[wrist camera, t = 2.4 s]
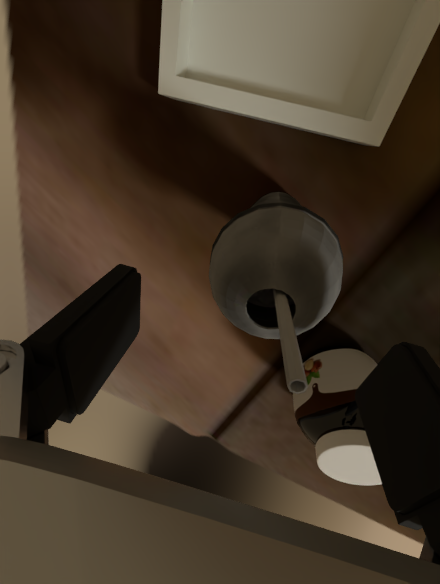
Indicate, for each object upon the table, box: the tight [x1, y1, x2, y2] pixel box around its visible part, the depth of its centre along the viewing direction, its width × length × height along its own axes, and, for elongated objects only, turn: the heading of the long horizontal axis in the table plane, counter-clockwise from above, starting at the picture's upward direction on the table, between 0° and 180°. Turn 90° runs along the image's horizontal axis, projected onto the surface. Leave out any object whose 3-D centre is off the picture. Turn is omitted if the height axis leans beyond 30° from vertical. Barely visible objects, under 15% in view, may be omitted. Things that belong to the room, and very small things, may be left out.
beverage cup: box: [209, 192, 343, 394], centre depth 15 cm, size 7×7×20 cm
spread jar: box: [293, 346, 382, 485], centre depth 28 cm, size 12×11×12 cm
